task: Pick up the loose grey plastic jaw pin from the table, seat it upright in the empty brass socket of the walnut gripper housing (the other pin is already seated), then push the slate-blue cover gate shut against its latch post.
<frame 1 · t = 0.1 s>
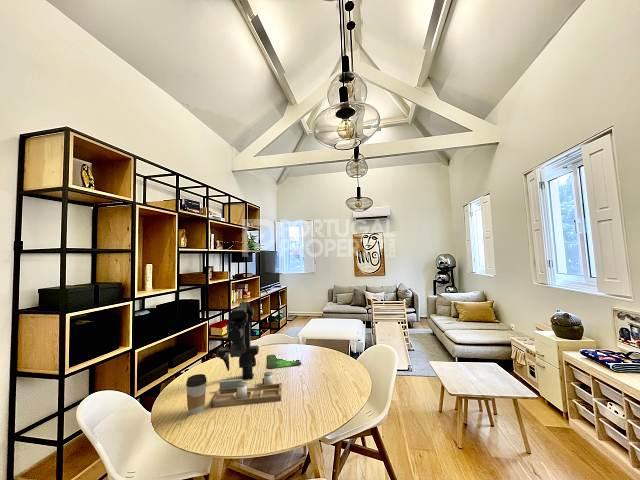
hand: (238, 370, 124), 15 cm above the table, fingers open, 9 cm apart
cover gate: (231, 384, 133), point 4 cm above the table, slide at 0.0 cm
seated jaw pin: (242, 398, 124), point 1 cm above the table, touching housing
housing: (254, 398, 125), on the table
coffee cup: (196, 413, 114), on the table
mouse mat: (283, 360, 176), on the table
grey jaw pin: (268, 386, 138), on the table
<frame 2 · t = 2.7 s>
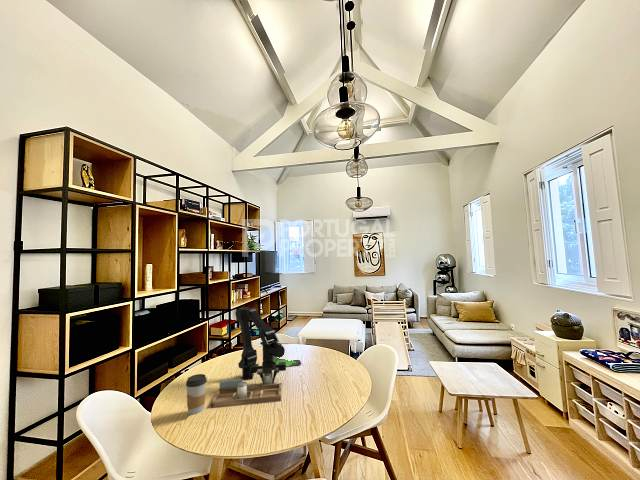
hand: (268, 384, 138), 1 cm above the table, fingers closed on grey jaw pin, 4 cm apart
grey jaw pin: (268, 386, 138), on the table, touching gripper
everything else where it was.
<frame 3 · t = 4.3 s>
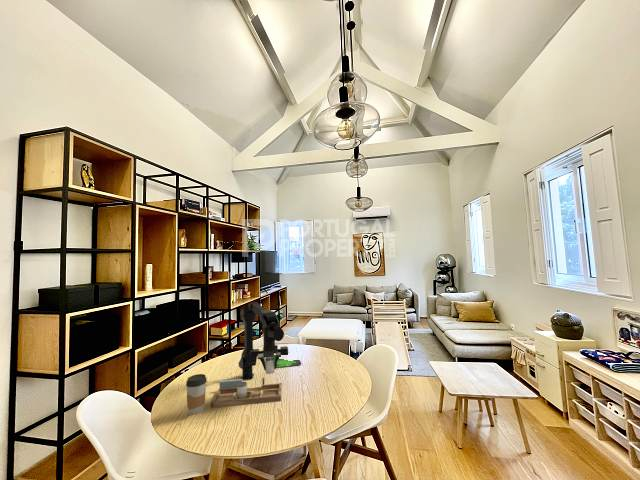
hand: (270, 370, 130), 12 cm above the table, fingers closed on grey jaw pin, 4 cm apart
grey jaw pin: (270, 372, 130), point 11 cm above the table, touching gripper
everything else where it was.
when the fingers open (4 cm above the table, at t = 6.2 s): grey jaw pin drops 2 cm, resting on housing.
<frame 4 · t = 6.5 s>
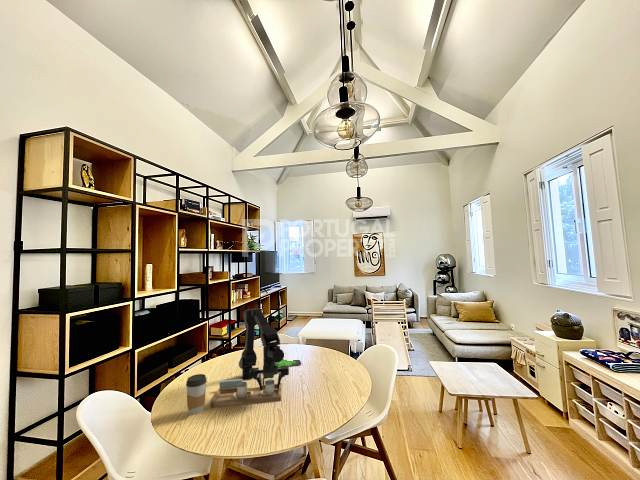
hand: (269, 389, 126), 4 cm above the table, fingers open, 7 cm apart
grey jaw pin: (269, 395, 125), point 1 cm above the table, touching housing
everything else where it was.
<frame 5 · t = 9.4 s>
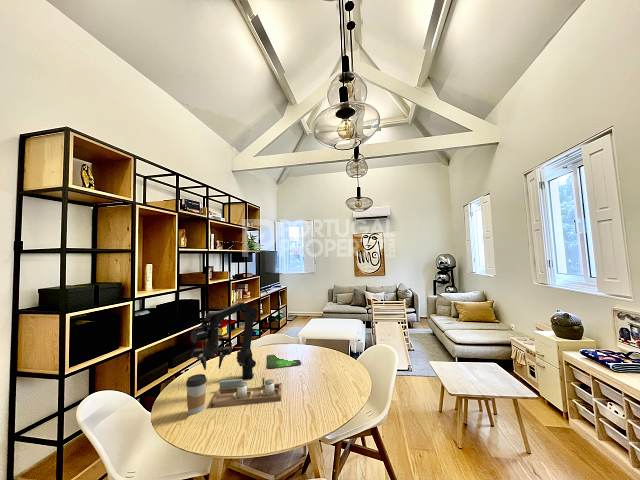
hand: (212, 369, 133), 12 cm above the table, fingers open, 7 cm apart
nothing on the table moved.
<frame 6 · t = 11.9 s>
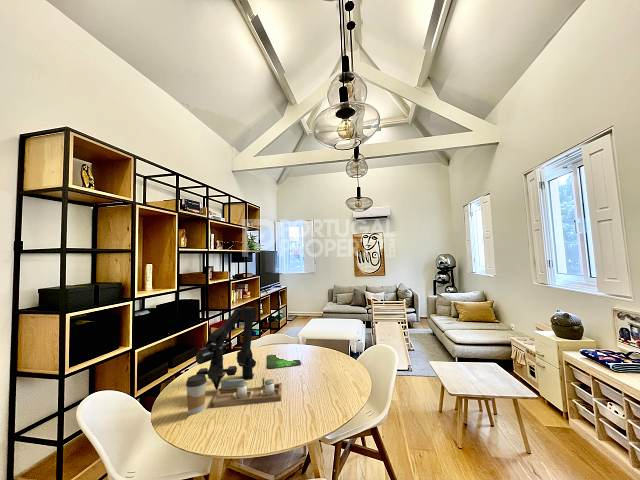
hand: (216, 389, 132), 2 cm above the table, fingers closed
cover gate: (232, 384, 133), point 4 cm above the table, slide at 0.7 cm, touching gripper
everything else where it was.
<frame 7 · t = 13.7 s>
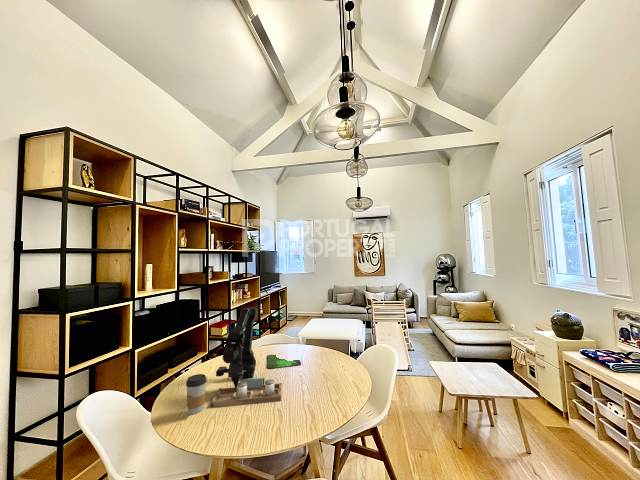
hand: (236, 387, 133), 2 cm above the table, fingers closed
cover gate: (251, 382, 134), point 4 cm above the table, slide at 10.1 cm, touching gripper
everything else where it was.
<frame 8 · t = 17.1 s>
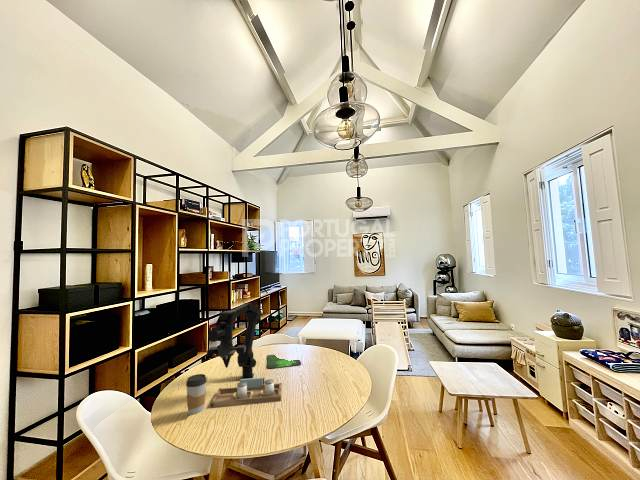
hand: (226, 367, 134), 12 cm above the table, fingers closed
cover gate: (251, 382, 134), point 4 cm above the table, slide at 10.0 cm
everything else where it was.
at the end: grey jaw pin 0.0 cm from the target spot on the housing, point 1.3 cm above the housing's base; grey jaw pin tilted 2°; cover gate slide at 10.0 cm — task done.
